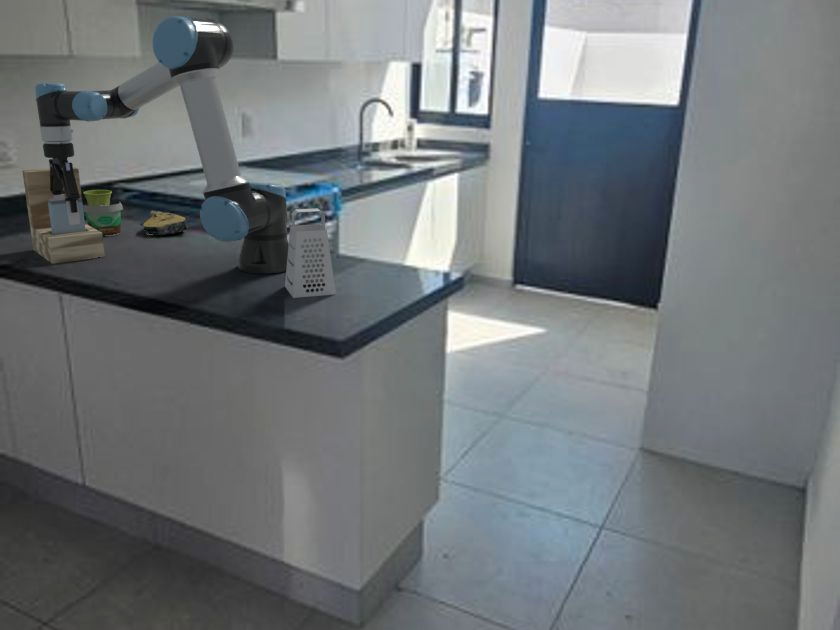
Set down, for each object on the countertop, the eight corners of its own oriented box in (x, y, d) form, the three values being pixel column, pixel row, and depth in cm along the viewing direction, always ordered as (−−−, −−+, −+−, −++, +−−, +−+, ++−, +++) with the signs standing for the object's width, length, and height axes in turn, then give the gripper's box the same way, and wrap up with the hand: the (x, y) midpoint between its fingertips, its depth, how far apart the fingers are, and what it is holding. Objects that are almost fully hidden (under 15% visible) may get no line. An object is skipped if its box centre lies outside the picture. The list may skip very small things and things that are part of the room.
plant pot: (119, 214, 275) (117, 190, 272) (103, 219, 266) (101, 194, 264) (97, 213, 277) (94, 189, 274) (80, 217, 268) (77, 193, 265)
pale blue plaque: (86, 240, 216) (81, 198, 212) (56, 244, 211) (51, 201, 207) (82, 238, 219) (77, 196, 215) (53, 241, 214) (47, 199, 210)
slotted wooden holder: (104, 256, 215) (95, 175, 208) (52, 263, 207) (40, 179, 200) (83, 243, 230) (74, 167, 223) (33, 249, 221) (22, 170, 214)
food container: (92, 239, 236) (88, 207, 233) (85, 236, 240) (81, 204, 237) (131, 234, 244) (128, 203, 240) (124, 231, 248) (121, 201, 245)
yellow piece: (179, 201, 267) (188, 217, 240) (183, 217, 269) (192, 235, 243) (138, 209, 263) (142, 227, 236) (142, 225, 265) (147, 244, 238)
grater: (335, 294, 185) (334, 213, 179) (293, 297, 181) (290, 215, 175) (325, 283, 194) (324, 205, 188) (284, 286, 191) (282, 207, 184)
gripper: (85, 144, 199) (95, 225, 206) (59, 138, 217) (69, 213, 224) (55, 146, 195) (66, 228, 201) (31, 140, 213) (42, 216, 219)
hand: (68, 220), depth 212 cm, fingers open, 12 cm apart
